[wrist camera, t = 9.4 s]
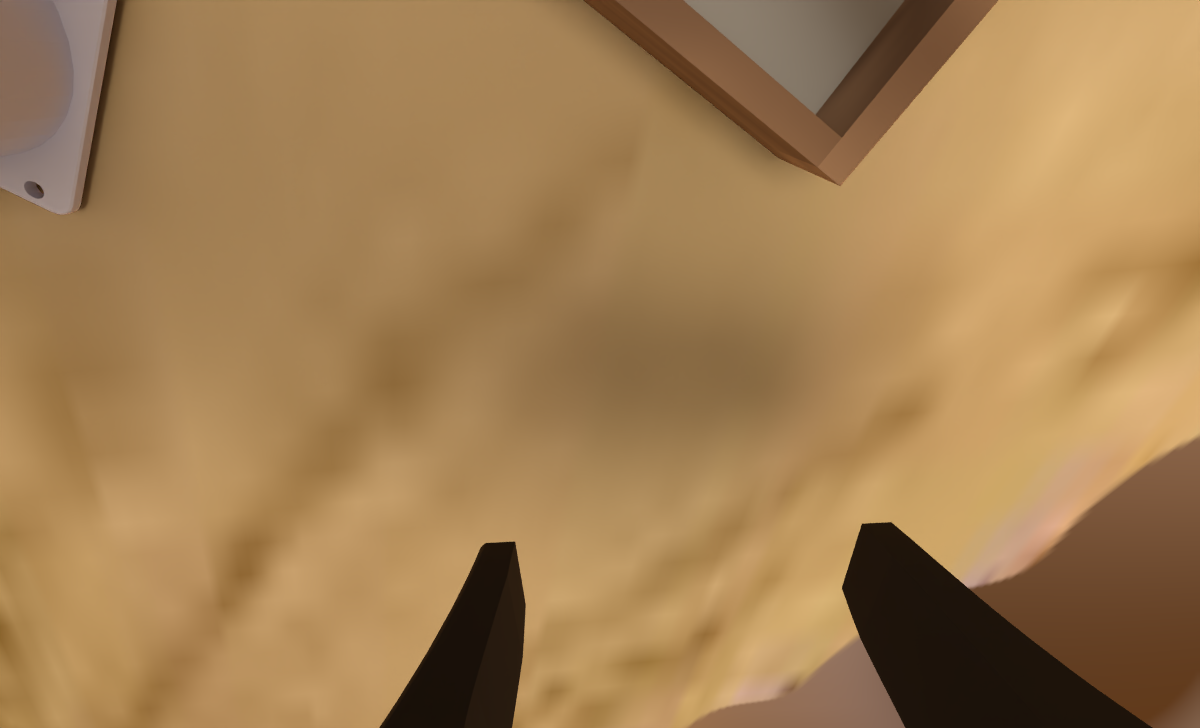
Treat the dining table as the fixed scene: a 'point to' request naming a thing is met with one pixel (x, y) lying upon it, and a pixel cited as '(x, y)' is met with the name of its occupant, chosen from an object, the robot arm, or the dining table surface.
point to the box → (803, 64)
